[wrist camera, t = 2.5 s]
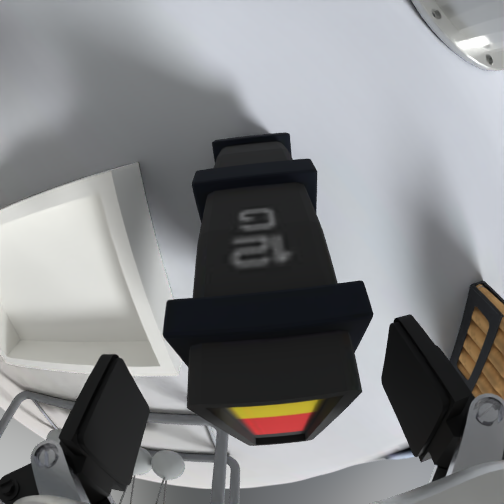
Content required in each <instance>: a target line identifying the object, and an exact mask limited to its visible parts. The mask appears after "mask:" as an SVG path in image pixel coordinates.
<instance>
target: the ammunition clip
mask: <svg viewBox="0 0 504 504" xmlns="http://www.w3.org/2000/svg"><path fill="white" fill-rule="evenodd" d="M450 363H451V364H452V365H453V367H454V368H455V370H456V371H457V372H458V374H459V375H460V376H461V378H462V379H463V381H464V382H465V384H466V385H467V386H468V388H469V389H470V391H471V392H472V394H473V395H474V397H475V398H476V397H477V396H479V395H481V394H485V393H492V394H495V395H498V396H499V397H501V398H502V399H503V400H504V300H503V299H502V298H501V297H500V296H499V295H498V294H497V293H496V292H495V291H494V290H493V289H492V288H491V287H490V286H489V285H488V284H487V283H486V282H485V281H482V282H479V283H475V284H472V285H471V286H470V289H469V294H468V298H467V303H466V307H465V311H464V315H463V319H462V323H461V327H460V330H459V334H458V337H457V340H456V344H455V347H454V350H453V353H452V356H451V359H450Z"/></svg>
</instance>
